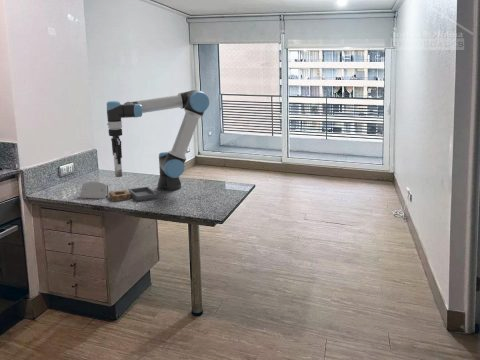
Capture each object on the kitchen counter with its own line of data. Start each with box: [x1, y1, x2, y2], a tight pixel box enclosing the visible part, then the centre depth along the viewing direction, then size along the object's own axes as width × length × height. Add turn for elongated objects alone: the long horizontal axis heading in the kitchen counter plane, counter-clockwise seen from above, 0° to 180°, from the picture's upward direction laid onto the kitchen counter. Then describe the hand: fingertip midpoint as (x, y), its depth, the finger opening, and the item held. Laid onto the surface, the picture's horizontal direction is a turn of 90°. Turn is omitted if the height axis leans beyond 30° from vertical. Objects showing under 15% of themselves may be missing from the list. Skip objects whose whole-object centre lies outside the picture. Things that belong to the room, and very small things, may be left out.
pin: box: [113, 152, 123, 178], centre depth 267 cm, size 4×4×14 cm
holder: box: [108, 189, 132, 202], centre depth 272 cm, size 10×10×3 cm
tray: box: [128, 186, 158, 202], centre depth 275 cm, size 12×18×3 cm, turn 29°
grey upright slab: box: [79, 181, 110, 199], centre depth 275 cm, size 17×5×10 cm, turn 84°
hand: (118, 168), depth 268 cm, fingers closed on pin, 4 cm apart
